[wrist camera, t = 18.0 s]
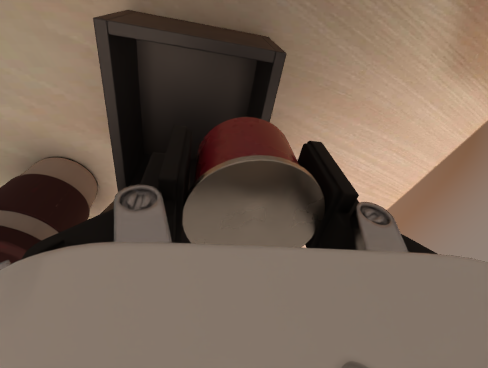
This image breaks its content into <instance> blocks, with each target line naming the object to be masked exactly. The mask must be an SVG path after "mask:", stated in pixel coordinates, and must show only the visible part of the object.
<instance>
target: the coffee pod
mask: <svg viewBox="0 0 488 368" xmlns="http://www.w3.org/2000/svg"><path fill="white" fill-rule="evenodd" d="M324 213H325V200H324V195H323V192H322V190H321V188H320V186H319V184H318V183H317V181H316V179H315V178H314V177H313V176H312V175H311V174H310V173H309V172H308V171H307V170H306V169H305V168H303V167H302V166H300V165H299V164H298V162H297V160H296V157H295V155H294V153H293V151H292V149H291V147H290V145H289V143H288V141H287V139H286V137H285V136H284V134H283V133H282V132H281V131H280V130H279V129H278V128H277V127H276V126H274V125H273V124H271V123H269V122H267V121H265V120H262V119H259V118H254V117H239V118H234V119H230V120H227V121H225V122H223V123H220V124H219V125H217V126H216V127H214V128H213V129H212V130H211V131H209V133H208V134H207V135H206V136H205V137H204V139H203V140H202V142H201V144H200V146H199V149H198V154H197V162H196V171H195V180H194V184H193V185H192V186H191V188H190V189H189V191H188V193H187V195H186V197H185V200H184V203H183V216H182V226H183V230H184V232H185V234H186V237H187V238H188V240H189V241H190V242H191V243H194V244H221V245H247V246H271V247H295V248H301V247H302V246H303V245H305V244H306V243H307V242H308V241H309V240H310V239H311V238H312V237H313V236H314V235H315V233H316V231H317V229H318V227H319V225H320V223H321V221H322V219H323V216H324Z"/></svg>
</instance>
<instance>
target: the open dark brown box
mask: <svg viewBox="0 0 488 368" xmlns="http://www.w3.org/2000/svg"><path fill="white" fill-rule="evenodd" d="M93 21H94V28H95V35H96V41H97V48H98V55H99V62H100V69H101V76H102V83H103V90H104V97H105V104H106V111H107V118H108V125H109V132H110V139H111V146H112V153H113V160H114V167H115V174H116V181H117V188H118V192H119V191H121V190H122V189H124V188H126V187H129V186H133V185H140V183H141V180H142V178H143V175H144V172H145V170H146V167H147V165H148V162H149V160H150V157H151V155H152V153H153V152H156V153H166V151H167V148H168V145H169V141H170V138H171V135H172V131H173V128H174V125H179V126H187V127H188V130H192V146H191V164H190V182H189V189H190V188H191V186H192V185H193V184H194V180H195V171H196V162H197V154H198V149H199V146H200V144H201V142H202V140H203V139H204V137H205V136H206V135H207V134H208V133H209V131H211V130H212V129H213V128H214V127H216V126H217V125H219V124H220V123H223V122H225V121H227V120H230V119H234V118H239V117H254V118H259V119H262V120H265V121H267V122H269V123H270V118H271V114H272V110H273V106H274V102H275V98H276V94H277V90H278V86H279V82H280V78H281V74H282V70H283V66H284V62H285V58H286V53H285V52H284V51H283V50H282V49H281V48H280V47H279V46H278V45H277V44H275V43H274V42H273V41H272V40H271V39H270V38H269V37H266V36H261V35H256V34H250V33H245V32H240V31H235V30H230V29H224V28H219V27H214V26H209V25H204V24H198V23H193V22H188V21H183V20H178V19H172V18H167V17H162V16H157V15H152V14H146V13H141V12H136V11H131V10H125V11H121V12H117V13H112V14H108V15H103V16H99V17H94V18H93Z"/></svg>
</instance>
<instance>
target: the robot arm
mask: <svg viewBox="0 0 488 368" xmlns="http://www.w3.org/2000/svg"><path fill="white" fill-rule="evenodd" d="M191 146H192V130H188V127H187V126H179V125H174V128H173V131H172V135H171V138H170V141H169V145H168V148H167V151H166V153H156V152H153V153H152V155H151V157H150V160H149V162H148V165H147V167H146V170H145V172H144V175H143V178H142V180H141V183H140V185H133V186H129V187H126V188H124V189H122V190H121V191H119V192H118V193H117V194H116V196H115V199H114V209H112V210H109V211H107V212H105V213H102V214H100V215H98V216H96V217H93V218H91V219H89V220H87V221H84V222H82V223H80V224H78V225H75V226H73V227H71V228H68V229H66V230H64V231H62V232H59V233H57V234H55V235H53V236H50V237H48V238H46V239H43V240H42V241H40V242H38V243H36V244H34V245H33V246H32V247H31V248H30V249H28V250H27V251H26V253H25V254H24V256H23V257H22V259H21V260H19V261H16V262H14V263H11V262H10V260H7V261H4V262H1V263H0V368H488V262H484V261H480V260H476V259H472V258H465V257H460V256H453V255H441V254H437V253H435V252H433V251H431V250H429V249H428V248H426V247H424V246H422V245H421V244H419V243H417V242H415V241H413V240H411V239H409V238H408V237H406V236H404V235H402V234H400V231H399V229H398V227H397V224H396V222H395V220H394V218H393V216H392V215H391V214H390V213H389V212H388V211H387V210H385V209H384V208H383V207H381V206H379V205H376V204H374V203H370V202H361V203H359V202H358V200H357V198H358V196H359V195H358V193H357V192H356V191H355V189H354V188H353V186H352V185H351V183H350V182H349V181H348V179H347V178H346V176H345V175H344V173H343V172H342V171H341V169H340V168H339V166H338V165H337V163H336V162H335V161H334V159H333V158H332V156H331V155H330V154H329V152H328V151H327V149H326V148H325V146H324V145H323V144H322V143H321V142H315V141H309V142H308V143H307V144H304V145H303V147H302V150H301V153H300V156H299V159H298V164H299V165H300V166H302V167H303V168H305V169H306V170H307V171H308V172H309V173H310V174H311V175H312V176H313V177H314V178H315V179H316V181H317V183H318V184H319V186H320V188H321V190H322V192H323V195H324V200H325V213H324V216H323V219H322V221H321V223H320V225H319V227H318V229H317V231H316V233H315V235H314V236H313V237H312V238H311V239H310V240H309V241H308V242H307V243H306V244H305V245H306V247H307V248H295V247H271V246H247V245H221V244H194V243H182V236H183V226H182V216H183V203H184V200H185V197H186V195H187V193H188V191H189V182H190V164H191Z"/></svg>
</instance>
